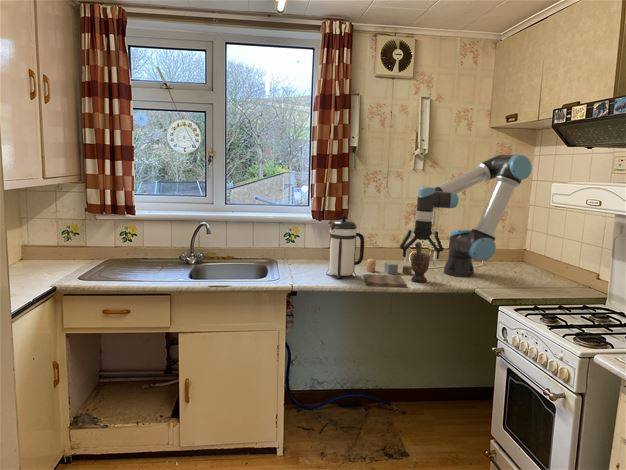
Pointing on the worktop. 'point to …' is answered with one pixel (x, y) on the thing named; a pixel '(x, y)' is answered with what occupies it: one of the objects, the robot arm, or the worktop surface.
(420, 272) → the mortar and pestle
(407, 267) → the dark oak block
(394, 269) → the slate grey cube
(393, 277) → the walnut board
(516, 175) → the robot arm
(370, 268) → the terracotta capsule
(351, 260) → the coffee press
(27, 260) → the worktop surface
